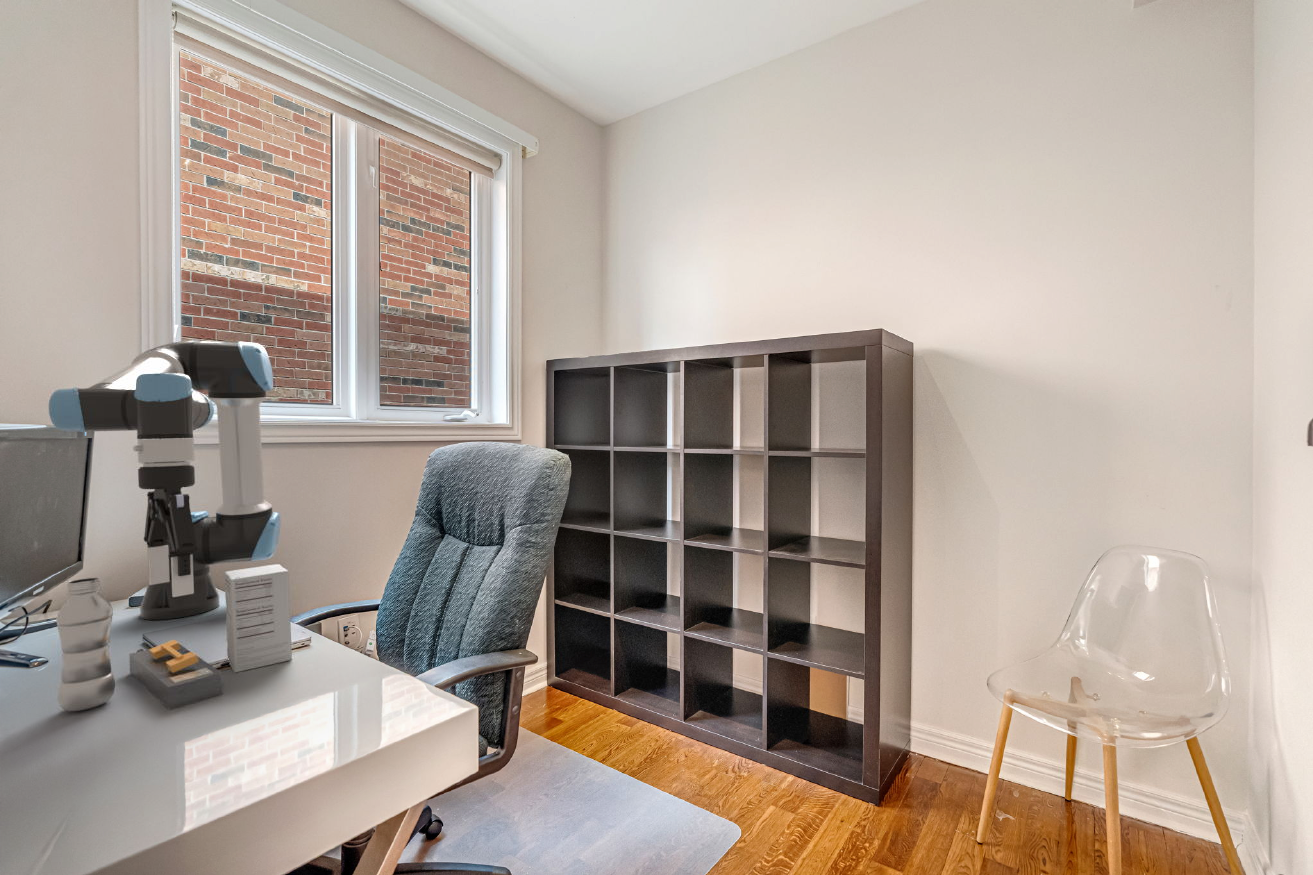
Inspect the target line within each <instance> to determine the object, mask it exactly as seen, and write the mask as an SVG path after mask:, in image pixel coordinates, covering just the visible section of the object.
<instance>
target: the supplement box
mask: <svg viewBox="0 0 1313 875" xmlns="http://www.w3.org/2000/svg"><path fill="white" fill-rule="evenodd" d="M289 571H290V570H288V569H286V568H284V567H283V566H282V565H281V564H278V563H277V564H276V563H275V564H269V565H262V566H254V567H249V568H241V569H235V570H234V569H233V570H228V571H225V572H224V593H225V594H224V595H225V596H224V597H225V610H226V617H225V618H226V619H225V620H226V646H227V647H226V648H227V649H226V650H227V659H228V658H229V661H228V663H229V662H230V663H229V665H230V668H232V671H233V673H239V672H243V671H248V670H254V669H256V668H261V667H265V666H269V665H274V664H279V663H284V662H287V661H291V660H292V658H293V657H292V655H293V652H292V627H291V626H292V624H291V600H290V597H291V594H290V593H291V592H290V572H289Z"/></svg>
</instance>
